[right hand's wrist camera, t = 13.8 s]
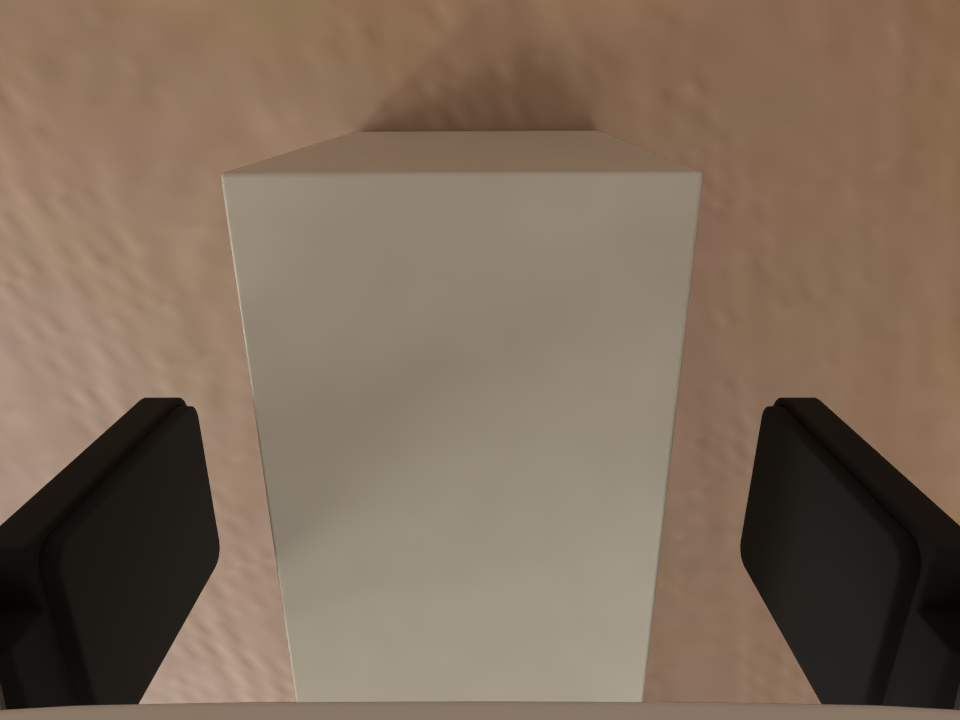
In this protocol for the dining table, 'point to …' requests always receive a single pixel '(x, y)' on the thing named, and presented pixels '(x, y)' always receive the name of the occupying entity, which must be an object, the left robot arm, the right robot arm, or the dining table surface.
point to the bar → (465, 405)
